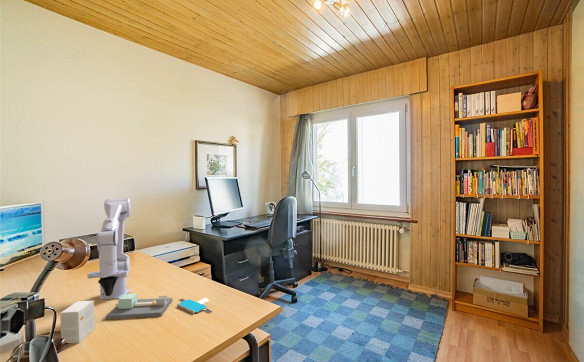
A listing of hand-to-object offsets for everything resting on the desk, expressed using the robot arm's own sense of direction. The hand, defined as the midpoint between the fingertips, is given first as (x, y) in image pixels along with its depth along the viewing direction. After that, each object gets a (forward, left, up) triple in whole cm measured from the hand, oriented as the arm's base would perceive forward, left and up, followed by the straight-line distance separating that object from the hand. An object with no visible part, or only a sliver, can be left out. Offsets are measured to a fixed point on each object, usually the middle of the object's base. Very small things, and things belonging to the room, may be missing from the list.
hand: (109, 295), depth 105 cm
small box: (-1, -16, -7) cm, 17 cm away
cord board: (+12, 0, -7) cm, 14 cm away
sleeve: (+7, 0, -5) cm, 9 cm away
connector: (+20, 0, -5) cm, 21 cm away
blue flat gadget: (+33, +2, -8) cm, 34 cm away
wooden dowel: (+12, 0, -6) cm, 13 cm away
